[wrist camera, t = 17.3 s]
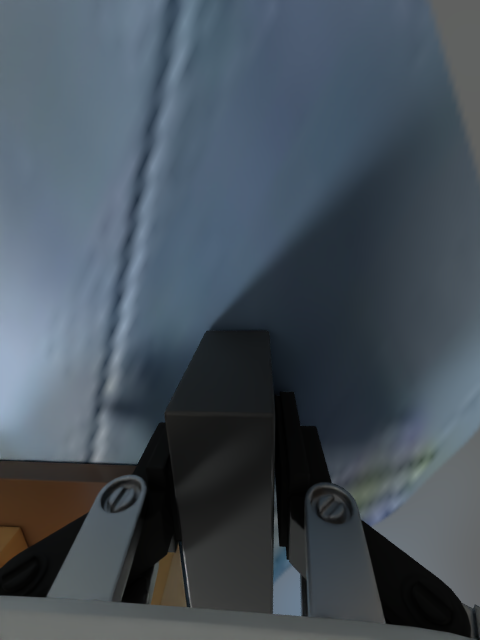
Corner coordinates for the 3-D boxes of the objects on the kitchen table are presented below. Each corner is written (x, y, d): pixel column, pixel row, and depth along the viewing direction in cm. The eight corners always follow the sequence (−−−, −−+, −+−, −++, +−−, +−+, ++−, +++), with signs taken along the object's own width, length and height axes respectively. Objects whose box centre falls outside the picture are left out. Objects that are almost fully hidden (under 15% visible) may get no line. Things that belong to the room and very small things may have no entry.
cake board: (-82, 457, 14) (-107, 474, 13) (154, 465, 13) (146, 484, 12) (1, 627, 18) (-13, 649, 18) (182, 642, 18) (177, 666, 17)
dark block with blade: (205, 329, 11) (162, 412, 6) (269, 329, 11) (275, 414, 6) (224, 597, 16) (209, 755, 11) (268, 600, 16) (270, 762, 11)
